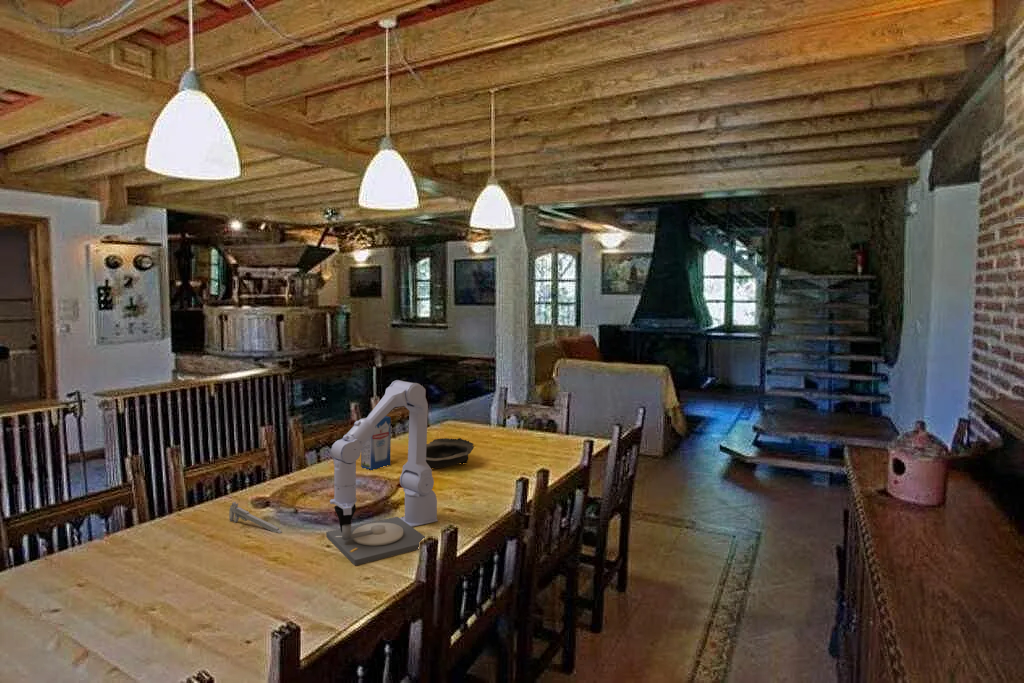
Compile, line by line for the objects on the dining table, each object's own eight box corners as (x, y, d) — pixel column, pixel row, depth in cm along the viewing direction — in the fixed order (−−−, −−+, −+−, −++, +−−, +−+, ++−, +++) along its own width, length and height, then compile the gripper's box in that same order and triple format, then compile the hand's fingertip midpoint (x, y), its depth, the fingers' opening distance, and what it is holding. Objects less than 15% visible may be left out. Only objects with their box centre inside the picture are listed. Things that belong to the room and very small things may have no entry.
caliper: (229, 522, 182) (228, 502, 182) (232, 521, 183) (231, 501, 183) (279, 534, 174) (279, 513, 173) (282, 533, 175) (282, 512, 174)
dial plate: (397, 521, 185) (397, 515, 184) (431, 546, 167) (431, 540, 167) (326, 536, 172) (326, 531, 172) (354, 565, 154) (354, 559, 154)
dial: (391, 522, 179) (391, 507, 178) (411, 538, 167) (411, 522, 167) (334, 534, 169) (334, 518, 169) (351, 552, 158) (351, 535, 157)
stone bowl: (478, 457, 258) (478, 437, 257) (468, 479, 233) (468, 456, 232) (421, 454, 260) (421, 433, 259) (406, 475, 236) (406, 453, 234)
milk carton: (371, 470, 237) (371, 420, 236) (361, 467, 241) (361, 418, 239) (390, 465, 245) (390, 416, 243) (380, 462, 249) (380, 414, 247)
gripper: (328, 477, 170) (328, 523, 171) (331, 493, 157) (332, 543, 158) (353, 475, 173) (353, 521, 174) (359, 490, 159) (359, 540, 160)
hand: (345, 531), depth 166 cm, fingers closed
